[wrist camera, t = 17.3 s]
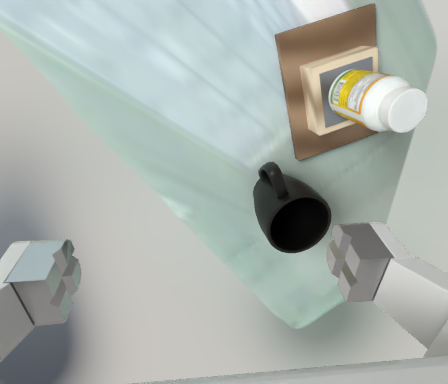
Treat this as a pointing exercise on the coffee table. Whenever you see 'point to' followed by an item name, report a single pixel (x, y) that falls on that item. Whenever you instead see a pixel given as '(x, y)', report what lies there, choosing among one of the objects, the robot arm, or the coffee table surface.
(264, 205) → the mug
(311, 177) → the coffee table surface
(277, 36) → the wooden stand
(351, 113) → the supplement bottle
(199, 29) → the coffee table surface
